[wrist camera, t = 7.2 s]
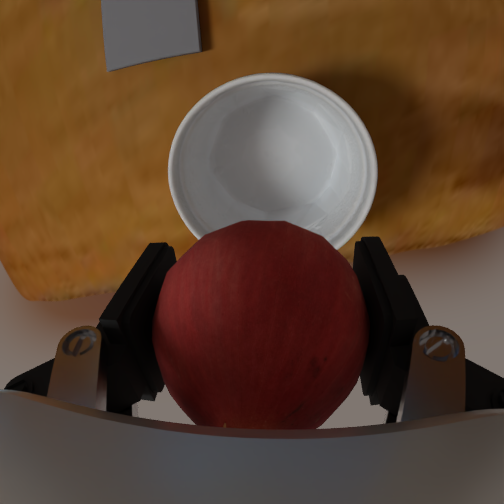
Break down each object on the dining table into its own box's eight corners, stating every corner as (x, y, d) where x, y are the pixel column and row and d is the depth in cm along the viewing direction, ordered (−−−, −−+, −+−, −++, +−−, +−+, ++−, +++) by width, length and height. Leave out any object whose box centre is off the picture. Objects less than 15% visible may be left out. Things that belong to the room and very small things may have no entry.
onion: (362, 293, 12) (406, 488, 6) (232, 331, 14) (199, 509, 7) (315, 156, 10) (381, 350, 3) (162, 218, 11) (42, 403, 5)
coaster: (105, -9, 18) (100, -11, 18) (194, -34, 17) (192, -37, 17) (111, 71, 22) (107, 71, 22) (202, 51, 21) (199, 51, 21)
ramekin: (345, 65, 21) (368, 61, 15) (361, 218, 27) (380, 260, 21) (178, 93, 23) (144, 100, 17) (214, 236, 30) (197, 281, 24)
